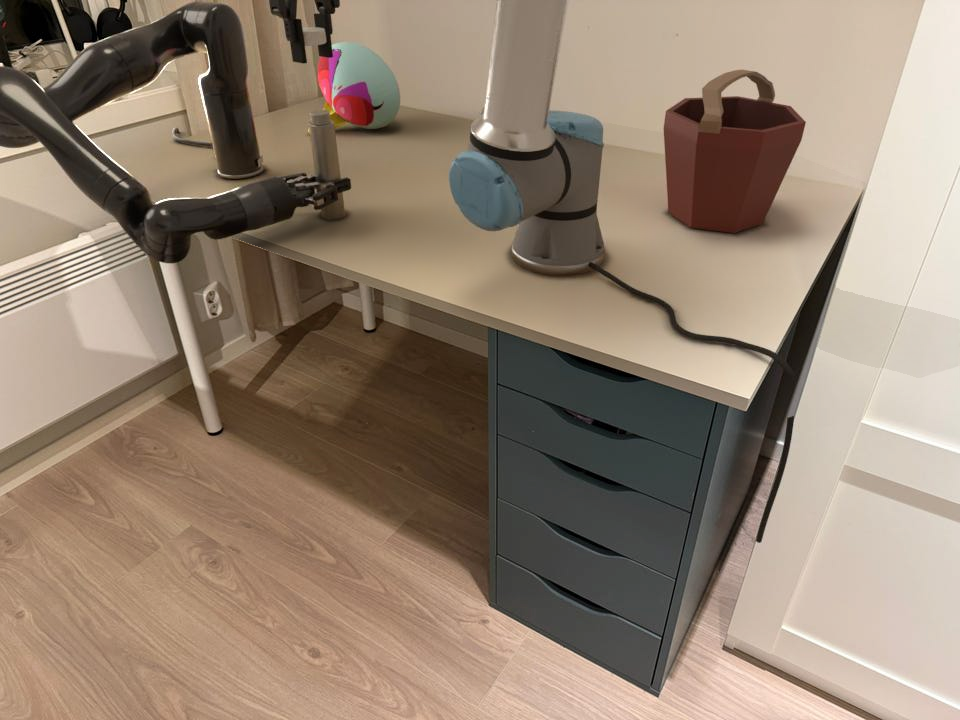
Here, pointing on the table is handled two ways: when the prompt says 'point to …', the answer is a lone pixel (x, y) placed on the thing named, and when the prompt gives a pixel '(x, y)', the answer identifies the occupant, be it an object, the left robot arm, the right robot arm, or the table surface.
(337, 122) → the toy
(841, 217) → the table surface
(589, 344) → the table surface
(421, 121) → the table surface
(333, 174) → the tan tube
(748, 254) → the table surface
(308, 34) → the lid
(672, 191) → the bucket
